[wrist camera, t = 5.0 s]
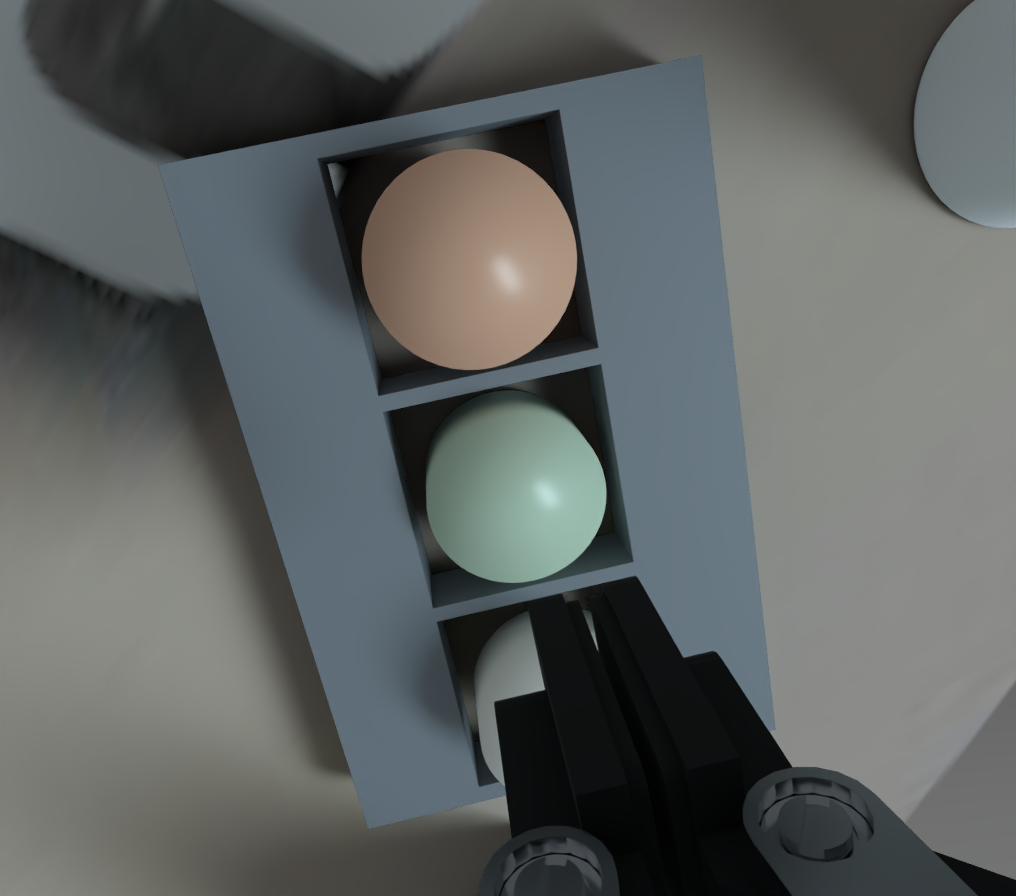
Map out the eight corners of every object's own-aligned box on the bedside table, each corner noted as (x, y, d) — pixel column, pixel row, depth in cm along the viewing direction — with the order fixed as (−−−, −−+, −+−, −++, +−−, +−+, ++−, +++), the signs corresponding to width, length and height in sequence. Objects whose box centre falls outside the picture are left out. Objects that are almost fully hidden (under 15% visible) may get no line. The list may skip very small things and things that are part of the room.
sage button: (571, 374, 21) (590, 394, 18) (598, 524, 22) (619, 560, 20) (408, 410, 20) (407, 435, 18) (445, 559, 22) (448, 600, 20)
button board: (673, 71, 19) (701, 54, 17) (747, 689, 25) (775, 729, 23) (184, 169, 18) (157, 165, 17) (372, 780, 24) (368, 829, 22)
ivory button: (617, 589, 21) (640, 634, 19) (640, 723, 23) (664, 780, 20) (458, 626, 21) (463, 677, 19) (491, 759, 22) (499, 821, 20)
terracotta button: (538, 138, 18) (556, 128, 15) (571, 329, 19) (593, 345, 17) (347, 178, 17) (336, 173, 15) (394, 368, 19) (391, 389, 17)
